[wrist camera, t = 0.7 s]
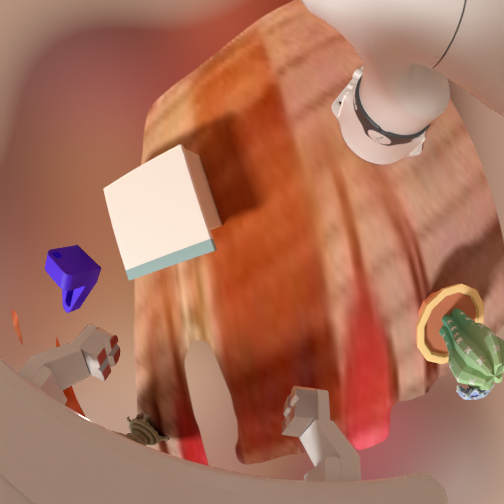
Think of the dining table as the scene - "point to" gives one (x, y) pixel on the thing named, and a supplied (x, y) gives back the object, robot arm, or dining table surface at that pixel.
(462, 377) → the potted cactus
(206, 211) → the box
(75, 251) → the bracket
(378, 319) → the dining table surface
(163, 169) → the lid
